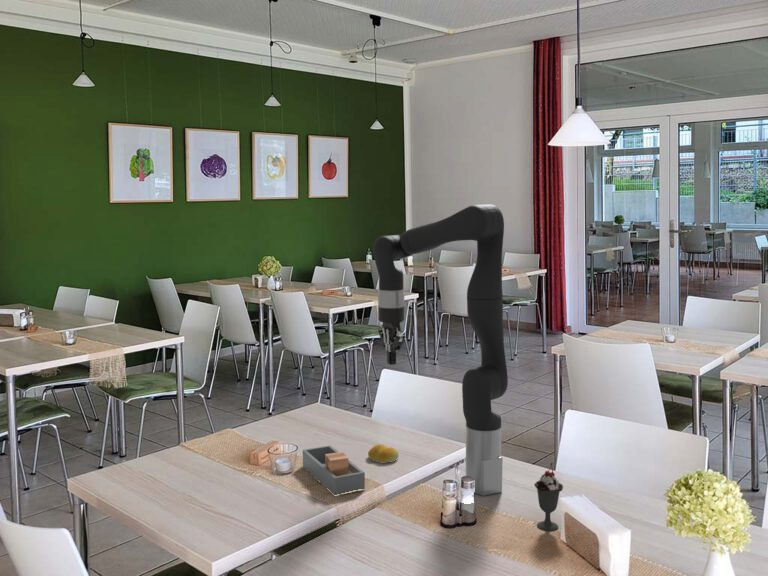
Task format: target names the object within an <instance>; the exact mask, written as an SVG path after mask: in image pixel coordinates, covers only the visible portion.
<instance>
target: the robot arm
mask: <svg viewBox="0 0 768 576" xmlns="http://www.w3.org/2000/svg"><path fill="white" fill-rule="evenodd" d="M504 233H505V220H504V215H503V213H502V211H501V209H500V208H499V207H498V206H497V205H494V204H491V203H487V204H486V203H485V204H481V203H480V204H471V205H469V206H467V207H465V208H463V209H460V210H459V211H457V212H455V213H454V214H452V215H450V216H448V217H446V218H444V219H443V218H442V219H441V220H438V221H434V222H430V223H427V224H422V225H419V226H416V227H413V228H409V229H408V230H405V231H404V232H403V233H401V234H393V235H382V236H378V238H376V240H375V241H374V243H373V248H372V254H373V259H374V261H375V266H376V270H377V273H378V296H377V297H378V298H377V303H378V305H377V309H378V311H377V314H378V315H377V318H378V319H377V320H378V321H379V322H380V323H382V324H381V325H382V326H381V328H379V329H378V335H379V337H380V342H381V344H382V347H383V349H385V351H386V362H387V363H386V364H388V365H390V366H391V365H396V364H397V352H398V351H401V350H402V347H403V344H404V342H405V339H406V336H405V334H402V333H401V331H402V328H401V323H403V322H404V321H405V292H404V291H405V290H404V272H403V270H402V269H400V268H397V267H396V266H395V263H394V261H396V260H401V259H402V260H403V259H404V258H408V257H411V256H412V255H416V254H420V253H423V252H428V251H431V250H435V249H437V248H438V247H440V246H443V245H445V244H448V243H451V242H457V241H458V242H459V241H460V242H462V241H475V242H476V247H477V248H476V249H477V250H476V252H477V253H476V255H477V256H476V263H475V266H474V269H473V271H472V275H471V277H470V279H469V282H468V286H467V289H466V307H467V308H466V310H467V317H468V318H467V319H468V322H469V324H470V326H471V328H472V329H473V332H474V333H475V335H476V338H477V339H478V342H479V345H480V352H481V353H480V355H481V361H480V362H481V364H480V366H477V367H473V368H470V369H468V370H467V371H466V372H465V373H464V375H463V378H462V382H461V383H462V384H461V385H462V386H461V391H462V392H461V394H462V397H461V398H462V412H463V415H464V419H465V477H466V476H471V477H473V478H474V480H475V493H474V494H477V495H480V496H483V497H484V496H490V495H494V494H497V493H498V494H499V493H502V492H503V457H502V456H501V455H502V417H501V415H500V414H499V413H498V412H497V413H496V412H495V411H492V401H493V400H496V399H499V398H501V397H503V395H505V393H506V392H507V389H508V383H509V381H508V380H509V379H508V369H507V361H506V353H505V343H504V342H505V341H504V340H505V338H504V303H503V302H504V299H503V298H504V296H503V266H502V265H503V264H502V263H503V261H502V260H503V246H504V235H505V234H504Z"/></svg>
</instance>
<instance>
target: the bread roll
mask: <svg viewBox="0 0 768 576" xmlns="http://www.w3.org/2000/svg"><path fill="white" fill-rule="evenodd" d="M367 455H368V458H369V459H370V460H371V461H372V460H374V461H373V462H377V461H378V462H377V463H379V462H383V463H382V464H385V463H384V462H390V461H394V460H396V459H397V458H398V459H399V451H398V450H397V449H396V448H394V447H388V446H387V445H385V444H375V445H373V446H372V447H371V448H369V450H368V452H367ZM398 459H397V460H398ZM397 460H396V461H397Z"/></svg>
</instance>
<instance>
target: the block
mask: <svg viewBox="0 0 768 576" xmlns="http://www.w3.org/2000/svg"><path fill="white" fill-rule="evenodd" d="M348 460H349V457H348V456H347V455H346V453H344V452H343V451H338V453H331V454H325V467H326V468H327V469H328V470H329V471H330V472H331V473H333V474H334V475H335V476H336V477H337V476H342V475H347V474H348Z"/></svg>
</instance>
